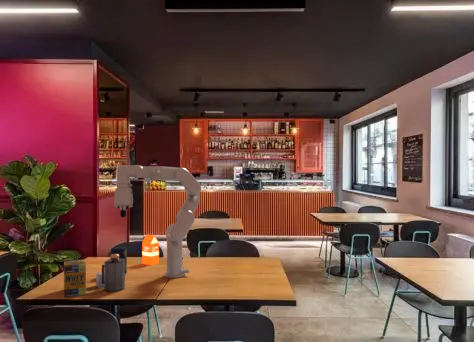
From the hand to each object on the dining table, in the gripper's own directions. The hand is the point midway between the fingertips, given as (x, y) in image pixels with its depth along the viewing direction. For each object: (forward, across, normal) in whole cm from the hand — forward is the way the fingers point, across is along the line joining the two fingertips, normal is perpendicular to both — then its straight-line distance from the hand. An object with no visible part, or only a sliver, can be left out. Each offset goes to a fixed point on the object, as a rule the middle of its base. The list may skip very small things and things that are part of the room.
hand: (123, 217), depth 234 cm
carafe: (+37, -2, +19) cm, 42 cm away
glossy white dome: (+37, +7, +13) cm, 40 cm away
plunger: (+32, -2, +19) cm, 37 cm away
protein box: (+37, +17, +26) cm, 48 cm away
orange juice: (+37, -4, -44) cm, 58 cm away
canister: (+37, +7, -12) cm, 40 cm away
